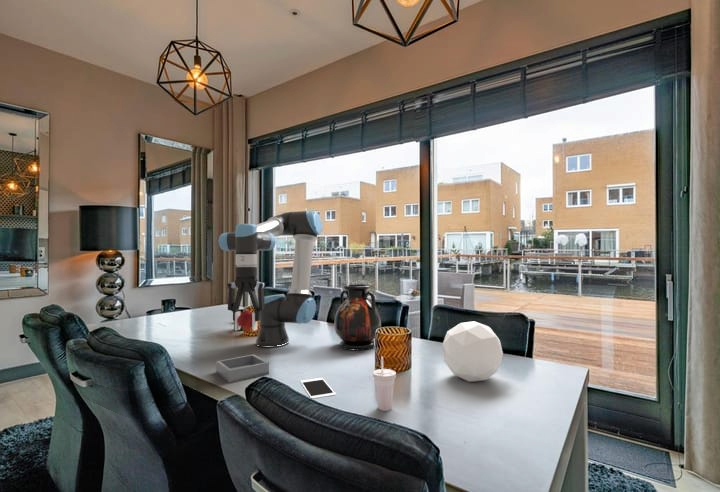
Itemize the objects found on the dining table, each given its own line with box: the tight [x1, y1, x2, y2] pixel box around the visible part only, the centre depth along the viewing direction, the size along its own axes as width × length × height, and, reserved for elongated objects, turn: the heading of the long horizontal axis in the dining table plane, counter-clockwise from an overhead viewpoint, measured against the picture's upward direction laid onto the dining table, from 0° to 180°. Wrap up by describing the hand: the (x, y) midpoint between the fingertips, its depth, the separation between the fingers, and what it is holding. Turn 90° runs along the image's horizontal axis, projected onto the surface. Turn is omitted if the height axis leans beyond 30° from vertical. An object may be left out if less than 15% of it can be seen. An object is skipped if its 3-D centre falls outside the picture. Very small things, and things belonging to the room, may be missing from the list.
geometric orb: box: [441, 320, 504, 383], centre depth 122 cm, size 19×20×20 cm
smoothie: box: [372, 356, 397, 412], centre depth 100 cm, size 6×6×14 cm
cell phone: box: [299, 377, 337, 400], centre depth 116 cm, size 8×16×1 cm, turn 21°
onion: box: [238, 308, 253, 332], centre depth 132 cm, size 6×6×8 cm
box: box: [215, 354, 270, 384], centre depth 131 cm, size 14×14×4 cm
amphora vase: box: [333, 283, 382, 351], centre depth 167 cm, size 22×22×28 cm
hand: (246, 329), depth 132 cm, fingers closed on onion, 6 cm apart
